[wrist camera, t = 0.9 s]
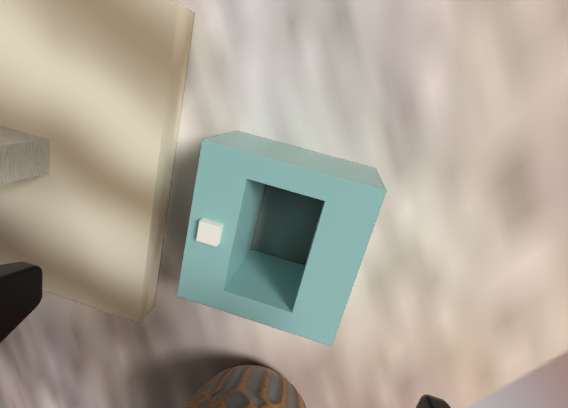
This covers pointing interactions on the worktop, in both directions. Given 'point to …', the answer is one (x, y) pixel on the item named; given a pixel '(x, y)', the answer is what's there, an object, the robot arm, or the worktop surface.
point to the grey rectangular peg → (22, 155)
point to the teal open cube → (266, 268)
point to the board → (93, 142)
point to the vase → (246, 390)
